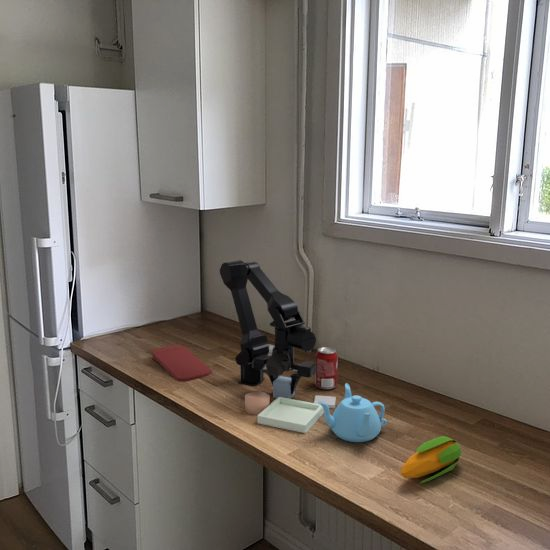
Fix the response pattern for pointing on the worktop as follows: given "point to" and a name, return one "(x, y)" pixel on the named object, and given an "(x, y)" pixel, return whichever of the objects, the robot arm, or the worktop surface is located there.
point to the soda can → (326, 368)
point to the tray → (291, 414)
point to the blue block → (282, 387)
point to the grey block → (326, 400)
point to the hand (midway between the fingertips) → (284, 392)
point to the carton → (180, 362)
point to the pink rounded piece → (256, 402)
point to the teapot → (355, 418)
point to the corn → (432, 458)
